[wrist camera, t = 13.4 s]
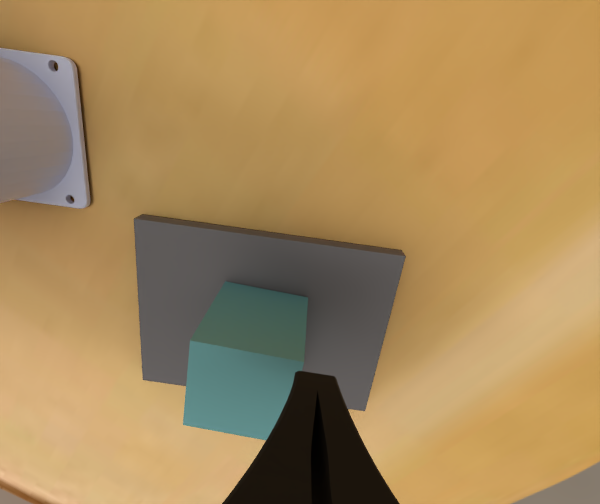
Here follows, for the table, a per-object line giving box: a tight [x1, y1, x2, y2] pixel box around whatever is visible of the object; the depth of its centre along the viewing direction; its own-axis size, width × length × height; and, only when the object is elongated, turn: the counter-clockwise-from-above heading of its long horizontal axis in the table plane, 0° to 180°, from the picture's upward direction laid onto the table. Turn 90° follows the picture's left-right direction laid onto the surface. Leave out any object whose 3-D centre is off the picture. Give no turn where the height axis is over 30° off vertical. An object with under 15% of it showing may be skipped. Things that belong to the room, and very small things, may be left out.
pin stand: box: [134, 214, 406, 411], centre depth 19 cm, size 16×12×6 cm
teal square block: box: [183, 281, 308, 440], centre depth 19 cm, size 5×5×6 cm
